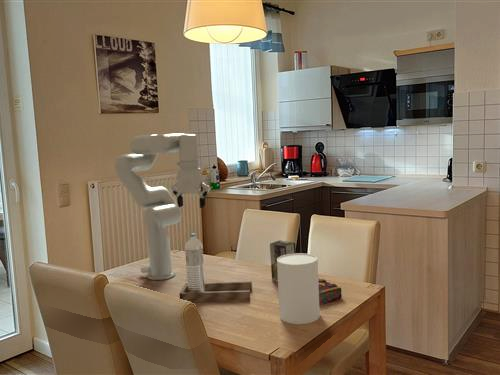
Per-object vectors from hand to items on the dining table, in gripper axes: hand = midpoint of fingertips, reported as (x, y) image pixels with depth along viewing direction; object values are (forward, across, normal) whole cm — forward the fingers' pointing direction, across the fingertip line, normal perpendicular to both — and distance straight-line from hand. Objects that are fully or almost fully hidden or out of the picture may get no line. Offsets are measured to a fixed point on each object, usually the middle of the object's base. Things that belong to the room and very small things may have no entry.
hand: (191, 206), depth 201 cm
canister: (+32, +50, -23) cm, 63 cm away
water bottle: (+33, +6, -12) cm, 36 cm away
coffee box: (+33, +35, +13) cm, 50 cm away
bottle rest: (+33, +14, -10) cm, 37 cm away
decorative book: (+32, +53, -3) cm, 62 cm away
